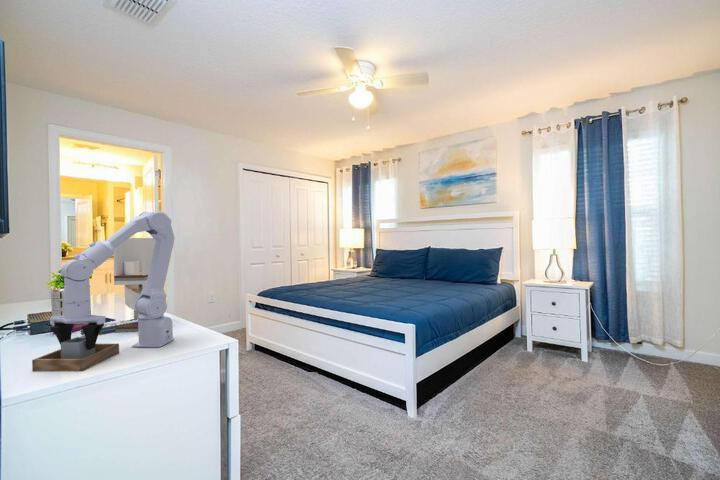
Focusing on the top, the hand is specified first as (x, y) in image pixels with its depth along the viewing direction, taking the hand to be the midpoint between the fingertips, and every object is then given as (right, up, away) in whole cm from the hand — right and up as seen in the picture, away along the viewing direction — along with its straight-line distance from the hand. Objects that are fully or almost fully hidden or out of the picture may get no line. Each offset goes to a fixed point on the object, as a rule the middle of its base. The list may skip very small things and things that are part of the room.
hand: (78, 348), depth 98 cm
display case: (-6, -3, +35) cm, 36 cm away
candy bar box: (-28, -3, +32) cm, 43 cm away
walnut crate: (0, -4, 0) cm, 4 cm away
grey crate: (0, -3, 0) cm, 3 cm away
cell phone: (-30, -4, +47) cm, 56 cm away
